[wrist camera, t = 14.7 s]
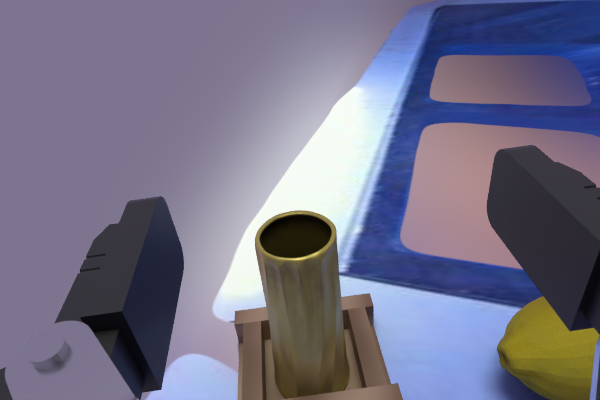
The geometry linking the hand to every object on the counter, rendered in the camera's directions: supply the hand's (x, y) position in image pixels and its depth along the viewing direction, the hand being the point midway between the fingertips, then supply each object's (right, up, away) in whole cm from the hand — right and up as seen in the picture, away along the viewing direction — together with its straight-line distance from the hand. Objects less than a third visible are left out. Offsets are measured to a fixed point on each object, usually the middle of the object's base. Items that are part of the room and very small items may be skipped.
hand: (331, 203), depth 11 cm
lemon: (+19, -14, +24) cm, 34 cm away
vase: (0, -14, +25) cm, 29 cm away
